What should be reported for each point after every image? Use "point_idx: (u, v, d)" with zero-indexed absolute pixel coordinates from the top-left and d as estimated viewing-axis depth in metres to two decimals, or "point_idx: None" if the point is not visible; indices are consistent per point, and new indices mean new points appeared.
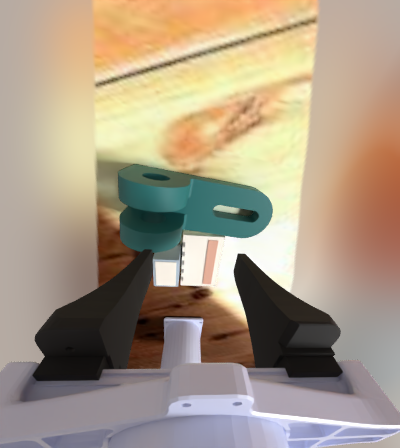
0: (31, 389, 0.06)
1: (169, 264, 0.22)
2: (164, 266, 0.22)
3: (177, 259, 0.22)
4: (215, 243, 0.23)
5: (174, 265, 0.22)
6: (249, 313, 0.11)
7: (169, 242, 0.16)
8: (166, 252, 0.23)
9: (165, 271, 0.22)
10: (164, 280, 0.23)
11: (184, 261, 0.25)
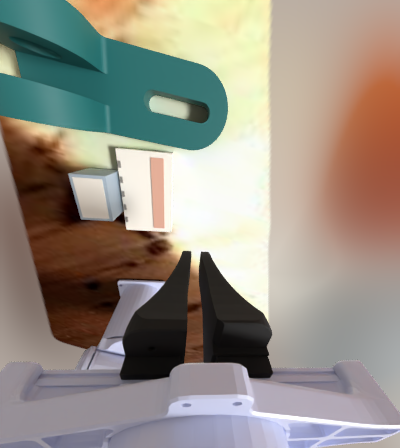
0: (31, 389, 0.06)
1: (92, 181, 0.16)
2: (86, 185, 0.16)
3: (103, 176, 0.16)
4: (160, 162, 0.18)
5: (100, 184, 0.16)
6: (203, 312, 0.11)
7: (56, 111, 0.11)
8: (93, 172, 0.17)
9: (90, 194, 0.17)
10: (92, 209, 0.17)
11: (124, 192, 0.19)
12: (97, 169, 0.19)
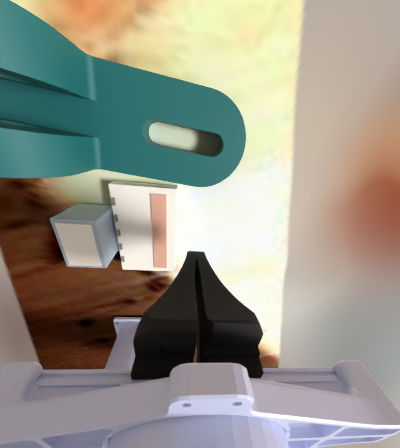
0: (31, 389, 0.06)
1: (80, 227, 0.13)
2: (72, 231, 0.13)
3: (93, 220, 0.13)
4: (162, 199, 0.15)
5: (89, 230, 0.13)
6: (197, 312, 0.11)
7: (22, 159, 0.08)
8: (82, 212, 0.14)
9: (77, 241, 0.14)
10: (80, 257, 0.14)
11: (120, 230, 0.16)
12: (87, 205, 0.16)
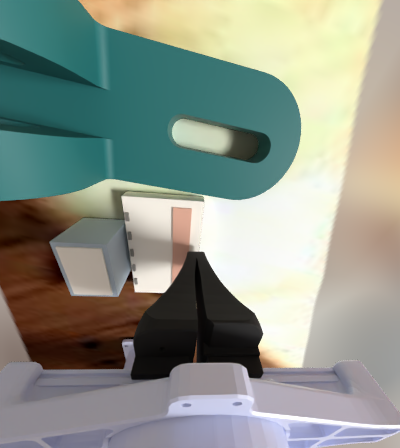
0: (31, 389, 0.06)
1: (87, 252, 0.10)
2: (78, 257, 0.11)
3: (104, 242, 0.11)
4: (186, 214, 0.12)
5: (99, 255, 0.11)
6: (197, 312, 0.11)
7: (5, 174, 0.05)
8: (89, 230, 0.12)
9: (83, 268, 0.11)
10: (87, 285, 0.12)
11: (133, 250, 0.14)
12: (95, 221, 0.13)
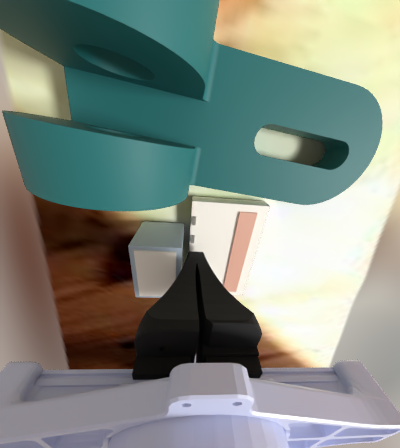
0: (31, 389, 0.06)
1: (162, 255, 0.11)
2: (152, 260, 0.11)
3: (178, 246, 0.11)
4: (251, 218, 0.13)
5: (172, 258, 0.11)
6: None
7: (159, 185, 0.06)
8: (157, 234, 0.12)
9: (155, 270, 0.11)
10: (154, 287, 0.12)
11: None
12: (156, 224, 0.13)
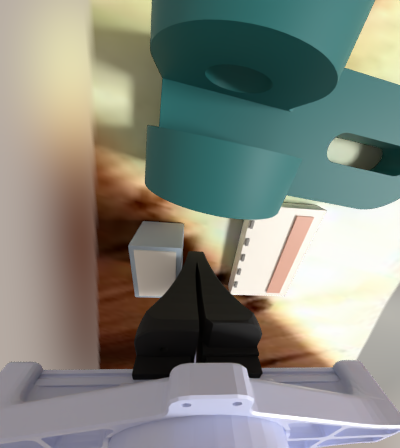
0: (31, 389, 0.06)
1: (162, 255, 0.11)
2: (152, 260, 0.11)
3: (178, 246, 0.11)
4: (307, 222, 0.13)
5: (172, 258, 0.11)
6: None
7: (282, 195, 0.06)
8: (157, 234, 0.12)
9: (155, 270, 0.11)
10: (154, 287, 0.12)
11: (245, 255, 0.14)
12: (156, 224, 0.13)
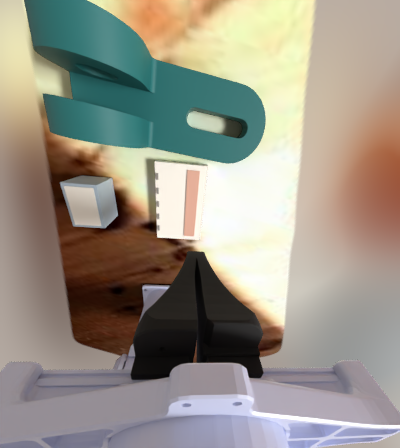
0: (31, 389, 0.06)
1: (84, 190, 0.16)
2: (78, 194, 0.17)
3: (95, 184, 0.16)
4: (196, 174, 0.19)
5: (91, 193, 0.17)
6: (197, 312, 0.11)
7: (117, 132, 0.12)
8: (85, 180, 0.18)
9: (81, 202, 0.17)
10: (84, 217, 0.18)
11: (159, 202, 0.20)
12: (90, 177, 0.19)
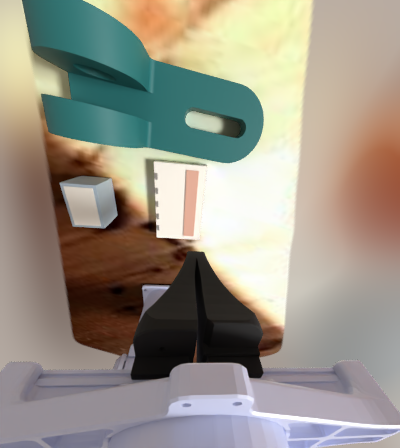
0: (31, 389, 0.06)
1: (83, 190, 0.16)
2: (77, 194, 0.17)
3: (94, 184, 0.17)
4: (195, 174, 0.19)
5: (91, 193, 0.17)
6: (197, 312, 0.11)
7: (115, 132, 0.12)
8: (85, 180, 0.18)
9: (81, 203, 0.17)
10: (83, 217, 0.18)
11: (158, 202, 0.20)
12: (89, 177, 0.19)
